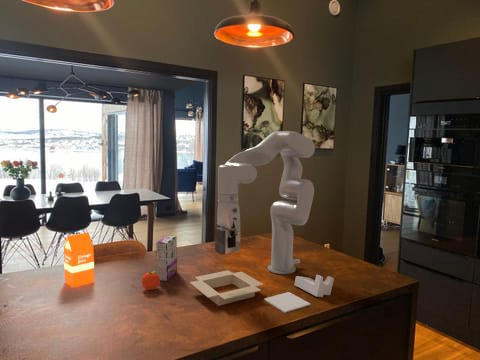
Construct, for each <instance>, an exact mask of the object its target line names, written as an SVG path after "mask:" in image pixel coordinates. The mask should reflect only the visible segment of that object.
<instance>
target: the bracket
mask: <svg viewBox="0 0 480 360" xmlns="http://www.w3.org/2000/svg"><path fill="white" fill-rule="evenodd" d="M294 279H295V280H294V284H293V286H296V287H298V288H300V290H301V289H302V290H303V291H305V292H307V293H309V294H310V295H312V296H314V297H318V298H323V297H324V296H331V295H332V293H331V292H332V289H333V285H334V280H335V278H334V277H333V276H330V275H327V277H326V278H325V280H324V277H323V276H321V275H320V274H316V275H315V279H313V278H311V277H307V276H298V275H296V276H295V278H294Z"/></svg>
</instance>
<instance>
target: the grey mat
mask: <svg viewBox="0 0 480 360" xmlns="http://www.w3.org/2000/svg"><path fill="white" fill-rule="evenodd" d="M263 300H264V301H265V302H266V303H268V304H270V305H271V306H273V307H274V308H276V309H278V310H279V311H280V312H282V313H284V314H287V313H289V312H292V311H293V312H294V311H296V310H299V309H302V308H306V307H309V306H311V303H310V302H308V301H306V300H304V299H303V298H301V297H299V296H297V295H295V294H294V293H291V292H290V291H287V292H283V293H280V294H276V295H272V296H269V297H265V298H264V297H263Z"/></svg>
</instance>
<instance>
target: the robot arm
mask: <svg viewBox="0 0 480 360" xmlns="http://www.w3.org/2000/svg"><path fill="white" fill-rule="evenodd" d="M315 151H316V146H315V143H314V140H312V138H309V137H307V136H306V135H303V134H301V133H299V132H297V131H293V130H276V131H273V132H271V133H270V134H269V135H267V136H266V137H265V138H264V139H263V140H261V142H259V143H258V144H257V145H256V146H253V147H251V148H248V149H246V150H244V151H241V152H238V153H237V154H235V155H233V157H231V158H230V159H229V160H227V161H226V162H225V164H221V165H219V166H218V168H217V212H216V224H217V226H218V227H223V228H226V229H228V235H229V237H228V248H232V247H235V246H236V236H237V233H238V232H239V231H240V232H241V211H240V210H241V209H240V204H239V184H250V183H253V182H254V181H255V180H256V178H257V175H258V171H257V168H256V167H258V166H263V165H266V164H269V163H270V162H272V160H273V159H275V158H276V157H277V156H278V154H280V156H281V158H282V161H283V171H282V174H281V178H280V179H281V180H280V183H279V188H278V190H279V191H278V193H279V196H280V197H282V198H284V199H288V200H295V201H296V202H293V201H287V200H276V201H275V202H273V203H272V205H271V206H270V208H269V209H270V219H271V255H270V256H271V257H270V258H271V259H270V260H271V261H270V264H268V265H267V270H268V272H271V273H274V274H276V275H289V274H293V273H295V272H296V268H297V267H296V266H295V265H296V264H301V259H299V258H297V259H295V258H293V253H294V252H293V251H294V229H293V226H292V225H295V226H304V225H305V224H306V223H307V222H308V220H309V218H310V217H309V216H310V214H311V213H310V212H311V209H312V208H311V207H312V204H313V201H314V195H315V188H314V184H313V182H312V181H311V180H309V179H304V178H302V174H303V169H304V168H303V166H302V163H301V161H300V158H302V159H303V158H304V159H307V158H310V157H312V156H313V155H314V154H315ZM231 227H233V229H231ZM239 228H240V230H239ZM231 230H233V231H232V233H231Z"/></svg>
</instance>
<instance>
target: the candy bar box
mask: <svg viewBox="0 0 480 360" xmlns="http://www.w3.org/2000/svg"><path fill="white" fill-rule="evenodd" d="M177 242H178V241H177V236H175V235H166V236H164V237H163V238H161V239H160V240H157V242H156V243H155V245H156V247H155V248H156V249H155V250H156V273H157V274H158V275H159V277H160V282H161V281H162V282H169V280H170V279H171V278H173V276H174V275H175V274H177V272H178V255H177V254H178V252H177V251H178V250H177V245H178V244H177ZM158 272H159V273H158ZM160 274H161V275H160Z"/></svg>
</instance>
